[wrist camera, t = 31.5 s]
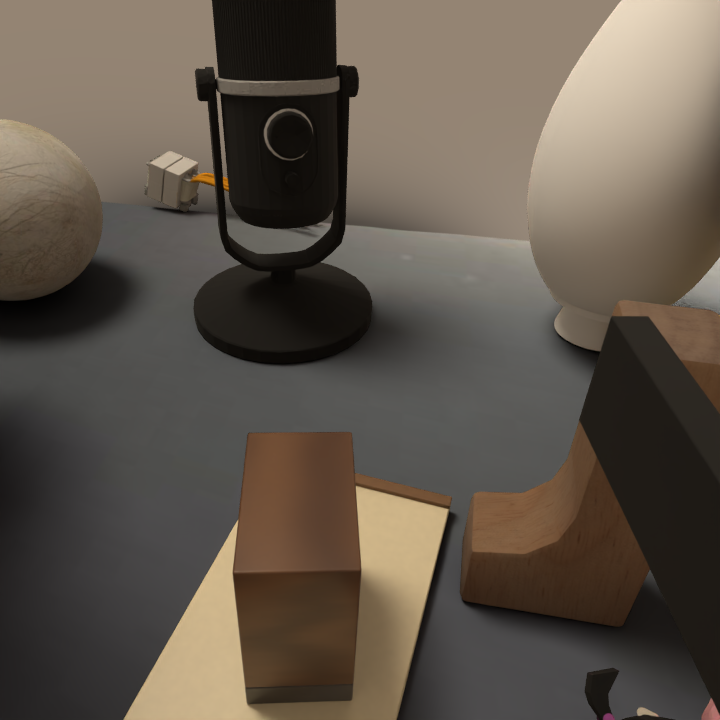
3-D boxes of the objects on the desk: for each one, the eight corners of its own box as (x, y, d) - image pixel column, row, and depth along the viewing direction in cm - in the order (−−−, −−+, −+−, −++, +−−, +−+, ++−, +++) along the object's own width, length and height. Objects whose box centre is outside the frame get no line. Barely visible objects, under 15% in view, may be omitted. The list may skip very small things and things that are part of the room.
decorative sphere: (149, 272, 66) (124, 114, 57) (29, 353, 55) (-26, 172, 46) (30, 238, 71) (-10, 87, 62) (-103, 306, 59) (-176, 133, 50)
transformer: (307, 217, 72) (325, 199, 76) (142, 148, 74) (167, 134, 78) (296, 263, 76) (313, 244, 80) (140, 196, 78) (163, 180, 81)
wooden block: (458, 603, 38) (516, 337, 28) (462, 539, 42) (514, 283, 31) (623, 631, 37) (749, 367, 27) (612, 563, 41) (720, 307, 30)
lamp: (473, 338, 59) (560, -174, 38) (543, 269, 70) (641, -160, 49) (659, 411, 52) (888, -165, 32) (704, 321, 63) (898, -152, 42)
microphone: (200, 374, 54) (146, -77, 36) (190, 276, 66) (146, -96, 48) (392, 352, 57) (429, -69, 40) (349, 263, 70) (362, -89, 52)
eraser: (246, 704, 32) (232, 573, 26) (257, 563, 39) (247, 432, 33) (352, 701, 33) (361, 570, 27) (345, 561, 39) (351, 431, 33)
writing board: (75, 819, 29) (69, 806, 28) (274, 466, 46) (273, 452, 45) (345, 925, 26) (346, 914, 26) (449, 510, 44) (452, 496, 43)
